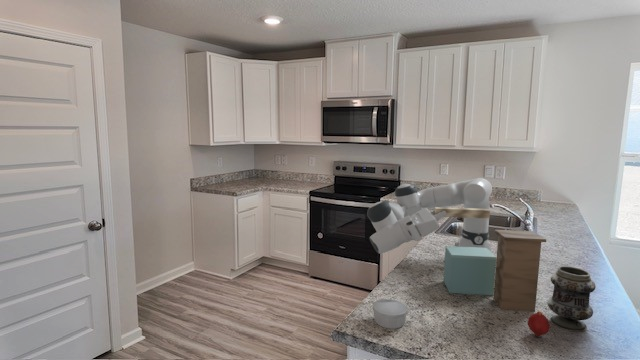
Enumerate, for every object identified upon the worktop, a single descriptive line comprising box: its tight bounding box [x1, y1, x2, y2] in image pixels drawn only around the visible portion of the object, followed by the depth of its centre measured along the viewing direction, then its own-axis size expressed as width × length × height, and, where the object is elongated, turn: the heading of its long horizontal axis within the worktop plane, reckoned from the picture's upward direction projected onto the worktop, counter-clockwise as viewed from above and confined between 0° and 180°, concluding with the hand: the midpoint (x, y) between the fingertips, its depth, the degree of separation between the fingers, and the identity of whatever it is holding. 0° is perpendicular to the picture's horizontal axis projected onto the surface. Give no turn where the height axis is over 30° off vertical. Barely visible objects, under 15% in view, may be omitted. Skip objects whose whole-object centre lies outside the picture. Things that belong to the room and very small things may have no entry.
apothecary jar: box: [546, 265, 597, 333], centre depth 116 cm, size 12×12×18 cm
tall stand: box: [493, 229, 547, 313], centre depth 128 cm, size 10×13×26 cm
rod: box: [434, 207, 491, 220], centre depth 135 cm, size 19×3×3 cm, turn 83°
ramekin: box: [372, 298, 409, 330], centre depth 117 cm, size 11×11×5 cm
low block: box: [443, 245, 497, 296], centre depth 142 cm, size 11×16×15 cm
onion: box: [527, 310, 551, 337], centre depth 109 cm, size 6×6×8 cm
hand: (444, 210), depth 135 cm, fingers closed on rod, 3 cm apart
